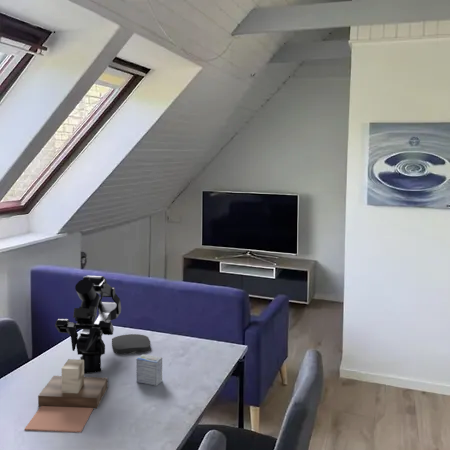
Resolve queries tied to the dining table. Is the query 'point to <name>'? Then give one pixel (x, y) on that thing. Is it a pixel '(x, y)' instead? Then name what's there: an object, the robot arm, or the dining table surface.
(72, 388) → the birch block
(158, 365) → the medicine box
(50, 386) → the oak plinth
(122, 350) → the media streaming box
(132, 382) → the dining table surface
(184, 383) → the dining table surface
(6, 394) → the dining table surface
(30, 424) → the terracotta mat
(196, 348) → the dining table surface
